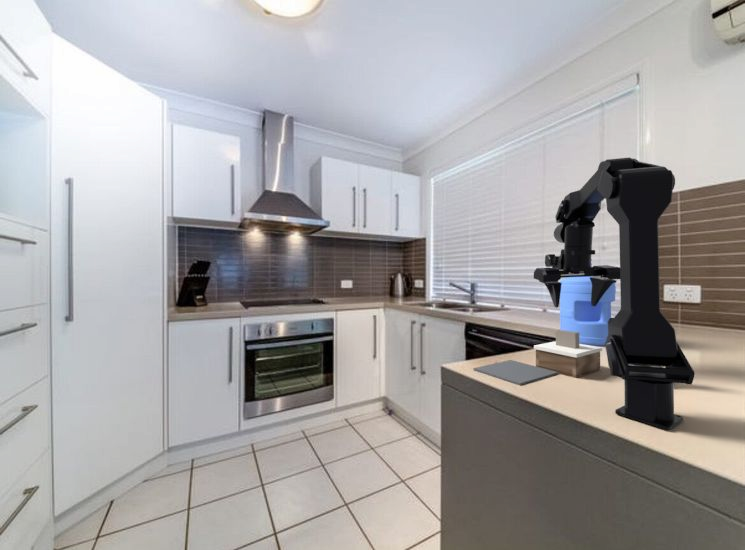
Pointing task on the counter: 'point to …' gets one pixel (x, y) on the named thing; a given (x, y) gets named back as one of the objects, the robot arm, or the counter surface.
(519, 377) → the mat
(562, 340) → the lid
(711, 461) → the counter surface
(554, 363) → the box
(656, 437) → the counter surface
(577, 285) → the water jug
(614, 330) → the robot arm
